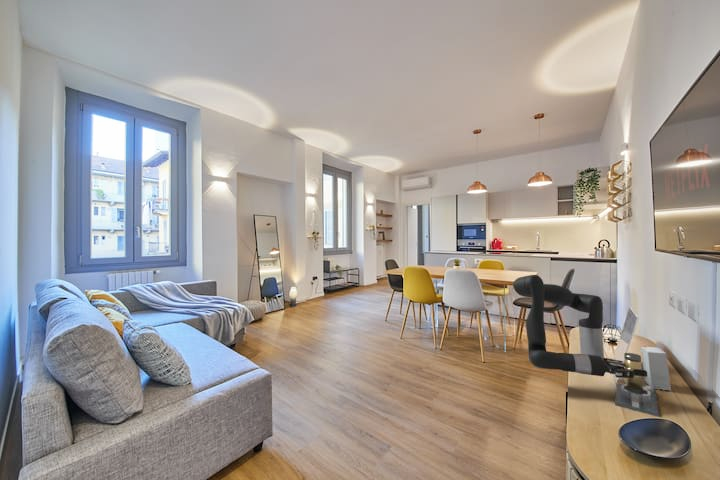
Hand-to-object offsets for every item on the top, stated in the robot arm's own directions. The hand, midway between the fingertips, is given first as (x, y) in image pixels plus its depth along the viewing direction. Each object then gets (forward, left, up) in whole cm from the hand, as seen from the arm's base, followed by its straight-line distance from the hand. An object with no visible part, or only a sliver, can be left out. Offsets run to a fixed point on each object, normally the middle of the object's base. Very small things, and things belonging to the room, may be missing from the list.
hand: (643, 370), depth 107 cm
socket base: (+1, -2, -11) cm, 11 cm away
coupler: (+1, -3, -6) cm, 7 cm away
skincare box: (-18, +4, -11) cm, 22 cm away
